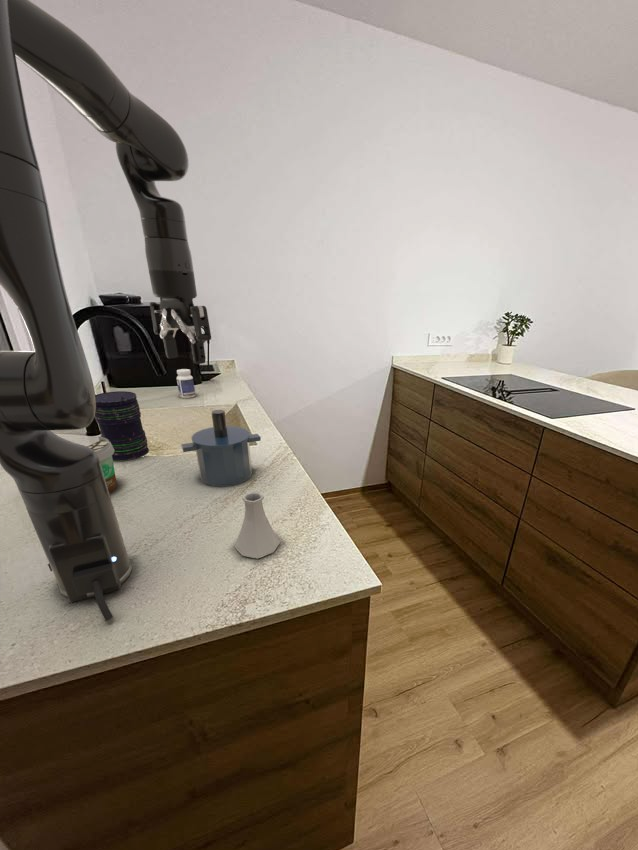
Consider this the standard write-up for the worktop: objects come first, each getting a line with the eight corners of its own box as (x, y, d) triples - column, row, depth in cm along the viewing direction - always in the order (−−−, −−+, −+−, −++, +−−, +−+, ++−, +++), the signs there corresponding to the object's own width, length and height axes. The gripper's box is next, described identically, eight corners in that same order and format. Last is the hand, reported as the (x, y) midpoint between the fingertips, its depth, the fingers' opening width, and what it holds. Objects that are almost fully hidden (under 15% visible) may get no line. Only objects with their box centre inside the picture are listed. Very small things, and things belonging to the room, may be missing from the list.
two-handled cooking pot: (268, 478, 90) (265, 440, 86) (192, 493, 83) (184, 452, 79) (255, 460, 99) (252, 424, 95) (185, 472, 92) (178, 434, 87)
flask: (257, 564, 63) (252, 513, 58) (227, 549, 66) (220, 499, 62) (287, 543, 69) (284, 494, 64) (258, 529, 72) (253, 482, 67)
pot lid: (256, 445, 85) (254, 416, 82) (197, 454, 79) (191, 423, 76) (242, 427, 95) (239, 401, 91) (188, 434, 89) (183, 406, 86)
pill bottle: (198, 395, 150) (194, 369, 146) (189, 399, 145) (185, 372, 141) (185, 393, 151) (181, 368, 147) (176, 397, 146) (171, 370, 142)
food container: (92, 507, 76) (77, 461, 72) (65, 503, 77) (49, 458, 73) (136, 480, 87) (125, 438, 82) (112, 476, 88) (100, 435, 83)
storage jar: (96, 456, 97) (79, 398, 90) (130, 443, 105) (116, 389, 99) (125, 464, 94) (109, 404, 87) (158, 450, 102) (145, 394, 96)
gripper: (128, 267, 71) (147, 358, 78) (177, 268, 64) (192, 368, 71) (166, 269, 76) (180, 354, 84) (214, 270, 70) (225, 362, 77)
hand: (186, 360), depth 77 cm, fingers open, 8 cm apart
